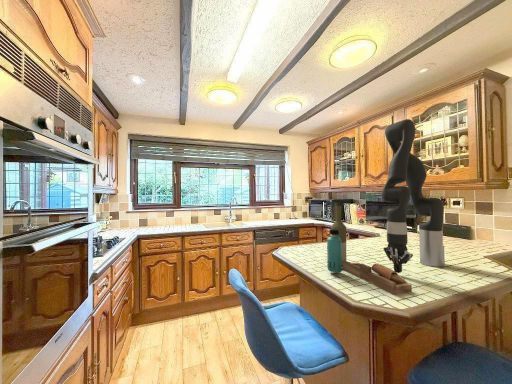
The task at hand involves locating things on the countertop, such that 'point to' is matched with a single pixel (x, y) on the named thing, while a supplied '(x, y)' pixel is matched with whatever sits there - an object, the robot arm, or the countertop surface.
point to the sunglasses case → (388, 274)
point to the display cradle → (375, 278)
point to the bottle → (340, 231)
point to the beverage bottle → (334, 252)
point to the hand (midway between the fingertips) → (397, 272)
